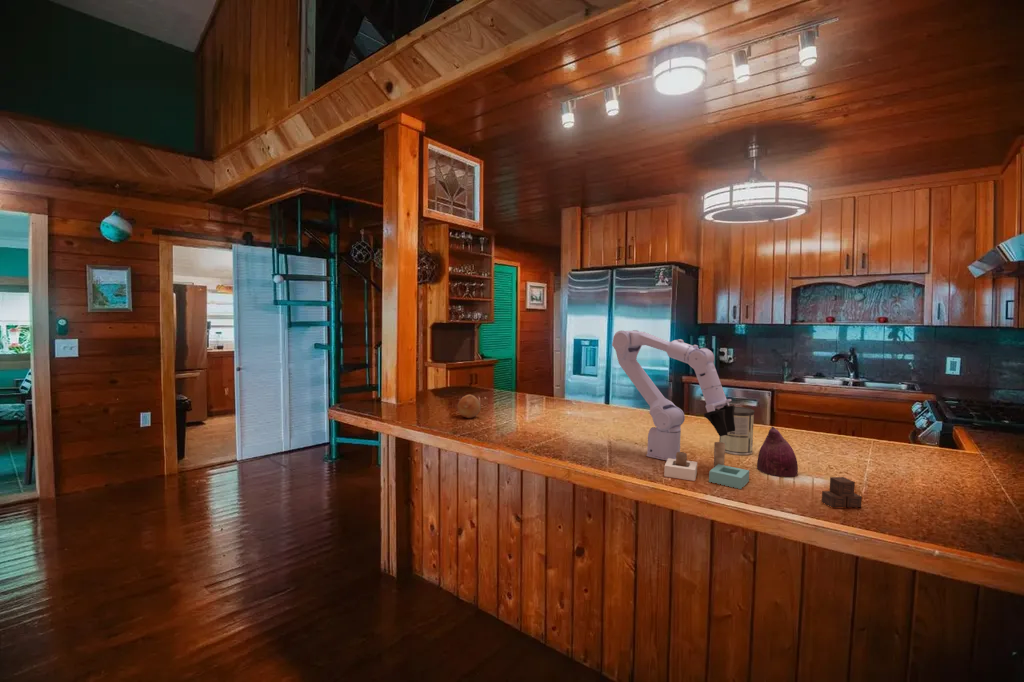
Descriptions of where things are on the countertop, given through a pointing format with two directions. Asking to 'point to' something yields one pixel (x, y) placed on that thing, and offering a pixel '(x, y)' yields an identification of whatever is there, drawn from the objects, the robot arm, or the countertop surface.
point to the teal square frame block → (729, 476)
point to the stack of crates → (841, 493)
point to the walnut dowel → (681, 459)
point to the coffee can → (740, 433)
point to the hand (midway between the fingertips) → (727, 433)
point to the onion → (469, 406)
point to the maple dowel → (719, 453)
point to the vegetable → (777, 456)
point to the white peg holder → (680, 470)
